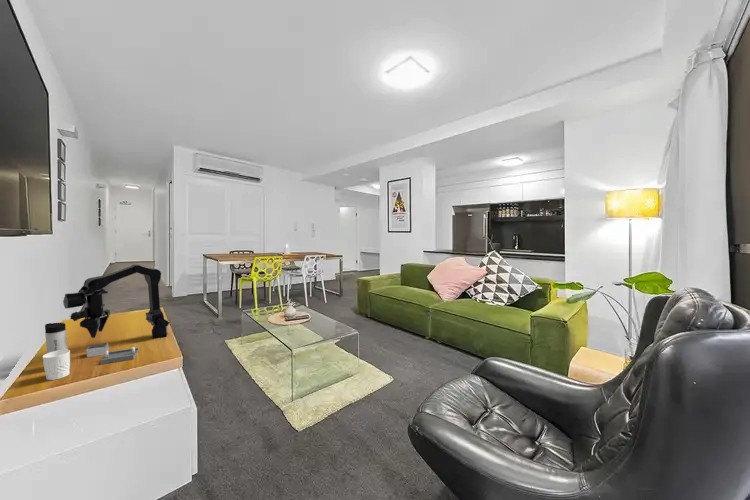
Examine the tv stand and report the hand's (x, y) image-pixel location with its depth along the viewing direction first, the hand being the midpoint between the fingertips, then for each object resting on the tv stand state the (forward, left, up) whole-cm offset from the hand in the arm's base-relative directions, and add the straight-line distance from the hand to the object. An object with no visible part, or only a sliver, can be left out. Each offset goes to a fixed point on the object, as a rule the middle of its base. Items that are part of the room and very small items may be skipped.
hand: (97, 334), depth 145 cm
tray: (-11, +10, -10) cm, 18 cm away
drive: (0, 0, -10) cm, 10 cm away
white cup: (+7, +21, -10) cm, 24 cm away
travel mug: (+11, +10, -10) cm, 18 cm away
